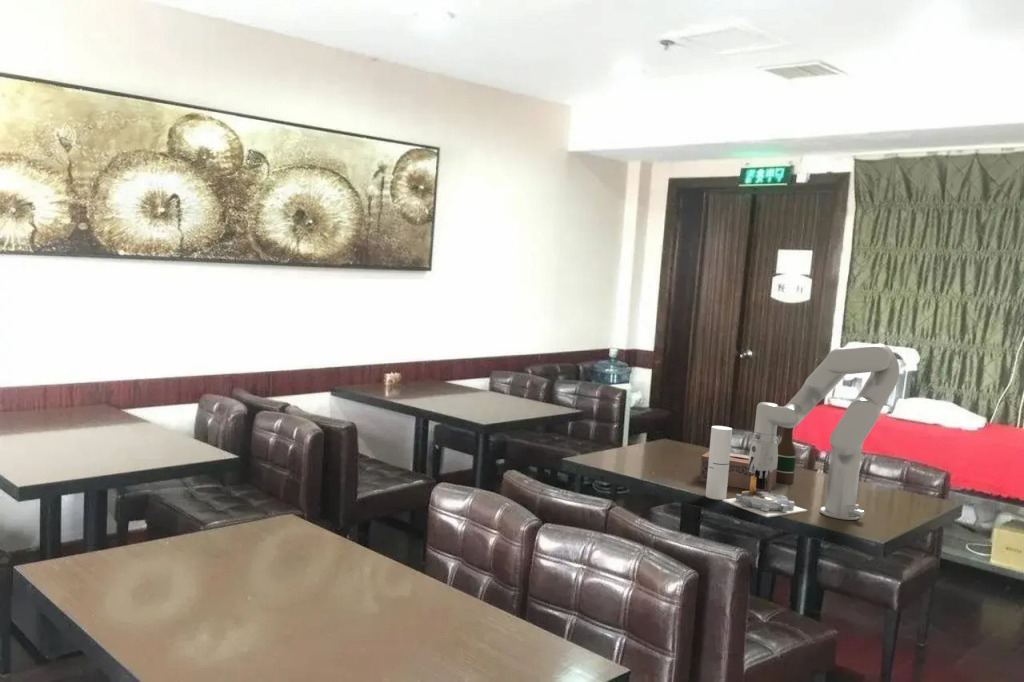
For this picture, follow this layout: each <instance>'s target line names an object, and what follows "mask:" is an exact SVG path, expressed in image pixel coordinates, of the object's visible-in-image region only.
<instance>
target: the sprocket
mask: <svg viewBox="0 0 1024 682" xmlns="http://www.w3.org/2000/svg"><path fill="white" fill-rule="evenodd" d="M756 480H757V477H756V476H751V481H750V490H744V491H743V490H742V491H741V493H736V495H735V498H736V501H741V505H744V506H746V507H749V506H750V507H754V508H758V509H761V510H764V511H769V510H774V511H779V510H780V511H782V512H785V511H789V508H794V506H795V500H789V497H788V496H784V495H783V494H782V495H778V494H775V493H770V492H763V491H761V492H760V491H756Z"/></svg>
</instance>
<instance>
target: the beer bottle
mask: <svg viewBox="0 0 1024 682" xmlns="http://www.w3.org/2000/svg"><path fill="white" fill-rule="evenodd" d="M793 429H794V427H793V428H785V427H783V432H782V436H781V437H782V438H781V441H780V442H779V443H778V444H777V446H778V464H777V475H776V484H781V485H792V484H793V483H794V479H795V471H796V469H795V468H796V462H797V449H796V446H795V445H794V442H793V435H794V434H793V431H794V430H793Z"/></svg>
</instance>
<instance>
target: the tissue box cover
mask: <svg viewBox="0 0 1024 682" xmlns="http://www.w3.org/2000/svg"><path fill="white" fill-rule="evenodd" d="M709 451H710V450H709ZM709 451H707V452H706V453H704V454H702V455H701V459H700V460H701V461H700V473H699V482H705V483H707V474H708V462H709ZM748 460H749V455H746V454H741V453H740V454H739V453H733V452H730V460H729V471H728V483H727V487H732V486H733V488H737V487H739V489H743V488H745V490H748V491H750V481H751V476H754V473H751V472H749V469H750V467H749V466H748ZM777 464H778V461H777ZM776 475H777V468H776V469H775V470H773V471H772V472H770V473H769V474H768V475H767V478H766V479H765V488H764V489H758V488H756V491H755V492H761V491H763V492H769V493H770V492H771V491H773V489H774V487H775V486H776V484H777V482H776Z"/></svg>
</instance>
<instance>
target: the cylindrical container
mask: <svg viewBox="0 0 1024 682" xmlns="http://www.w3.org/2000/svg"><path fill="white" fill-rule="evenodd" d="M732 435H733V428H732V427H729V426H724V425H712V426H711V429H710V440H709V441H710V442H709V462H708V474H707V482H706V486H705V487H706V488H705V497H706V498H708V499H711V500H719V501H720V500H724V499H727V494H728V493H727V492H728V486H727V483H728V471H729V460H730V453H731V449H732V448H731V446H732V438H733V437H732Z"/></svg>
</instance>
